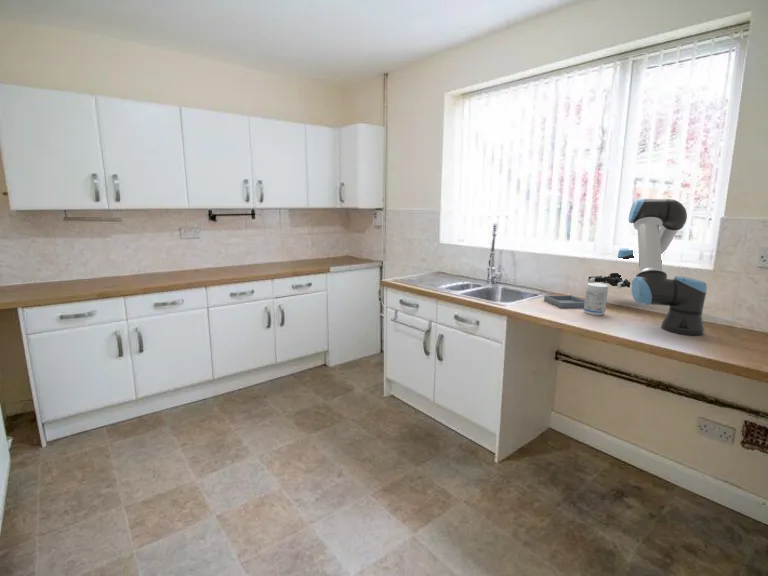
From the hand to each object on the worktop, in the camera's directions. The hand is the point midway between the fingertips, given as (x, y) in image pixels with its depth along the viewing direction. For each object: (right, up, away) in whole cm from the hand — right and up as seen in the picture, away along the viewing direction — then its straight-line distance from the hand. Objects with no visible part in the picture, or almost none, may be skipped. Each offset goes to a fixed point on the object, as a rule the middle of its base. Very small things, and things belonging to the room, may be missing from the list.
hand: (603, 283), depth 211 cm
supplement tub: (-7, -15, -5) cm, 17 cm away
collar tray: (-14, -11, +13) cm, 22 cm away
